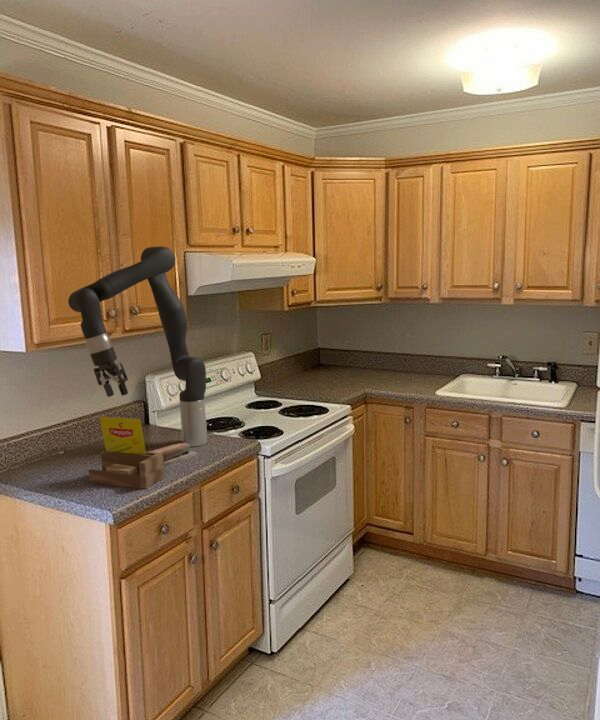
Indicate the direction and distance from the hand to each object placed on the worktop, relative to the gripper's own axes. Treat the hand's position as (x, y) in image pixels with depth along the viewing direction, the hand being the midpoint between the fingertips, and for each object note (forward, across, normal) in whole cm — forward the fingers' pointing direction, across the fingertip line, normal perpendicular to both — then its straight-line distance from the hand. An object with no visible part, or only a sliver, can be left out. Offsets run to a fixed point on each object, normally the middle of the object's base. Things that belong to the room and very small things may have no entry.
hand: (117, 395), depth 195 cm
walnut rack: (+25, -6, +11) cm, 28 cm away
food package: (+25, -3, +8) cm, 27 cm away
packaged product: (+29, 0, -10) cm, 30 cm away
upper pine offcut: (+23, -6, +12) cm, 26 cm away
